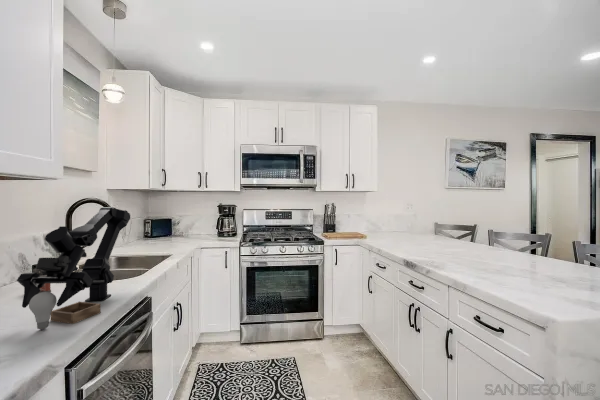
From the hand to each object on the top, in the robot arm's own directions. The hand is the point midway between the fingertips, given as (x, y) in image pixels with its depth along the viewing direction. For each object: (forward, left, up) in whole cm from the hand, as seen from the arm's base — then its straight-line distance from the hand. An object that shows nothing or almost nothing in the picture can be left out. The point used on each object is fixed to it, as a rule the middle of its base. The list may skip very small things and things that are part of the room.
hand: (40, 306), depth 83 cm
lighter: (-41, -26, -7) cm, 49 cm away
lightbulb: (-1, 0, -7) cm, 7 cm away
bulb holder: (-10, +4, -7) cm, 13 cm away
